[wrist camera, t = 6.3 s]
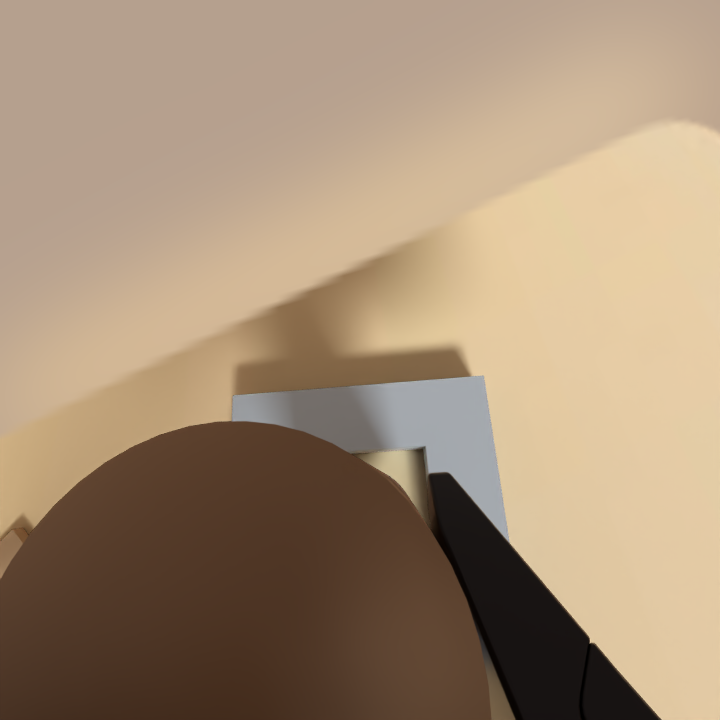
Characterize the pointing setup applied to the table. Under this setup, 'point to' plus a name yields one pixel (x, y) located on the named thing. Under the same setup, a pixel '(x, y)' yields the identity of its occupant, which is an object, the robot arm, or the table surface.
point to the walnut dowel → (236, 591)
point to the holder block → (399, 426)
